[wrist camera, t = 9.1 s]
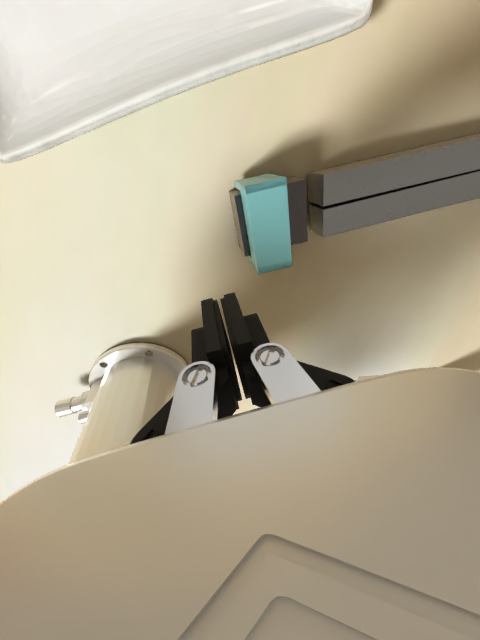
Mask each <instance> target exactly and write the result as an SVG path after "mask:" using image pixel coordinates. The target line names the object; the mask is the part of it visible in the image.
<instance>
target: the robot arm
mask: <svg viewBox="0 0 480 640" xmlns="http://www.w3.org/2000/svg"><path fill="white" fill-rule="evenodd" d="M220 300H221V304H222V308H223V313H224V317H225V321H226V325H227V330H228V334H229V338H230V342H231V346H232V350H233V354H234V357H235V361H236V365H237V368H238V372H239V376H240V379H241V383H242V386H243V390H244V394H245V397H246V399H247V398H250V397H251V400H252V404H253V405H256V406H259V407H261V408H257V409H253V410H250V411H246V412H243V413H239V414H236V415H233V413H234V412H235V411H236V409H239V406H238V401H240V400H242V397H241V393H240V388H239V384H238V380H237V375H236V371H235V366H234V362H233V358H232V353H231V349H230V345H229V341H228V338H227V334H226V330H225V327H224V323H223V320H222V316H221V313H220V309H219V305H218V302H217V300H215V301H213V300H212V298H211V299H207V300H203V301H201V306H202V317H203V327H202V328H198V329H194V330H192V332H191V335H192V364H190V365H187V363H186V362H185V360H184V359H183V358H182V357H181V356H180V355H178V354H177V353H175V352H174V351H172V350H170V349H167V348H165V347H163V346H159V345H155V344H149V343H130V344H124V345H120V346H117V347H114V348H112V349H110V350H108V351H106V352H105V353H103V354H102V355H101V356H100V357H99V358H98V359H97V360H96V362H95V363H94V364H93V367H92V369H91V371H90V374H89V387H90V391H86V392H84V393H83V394H82V395H81V396H79V397H72V398H68V399H64V400H60V401H58V402H57V403H56V405H55V413H56V414H57V416H59V417H62V416H66V415H70V414H74V413H77V412H78V411H82V410H83V411H85V412H82V413H80V414H79V417H78V419H79V422H80V423H81V424H82V423H84V426H83V428H82V431H81V433H80V436H79V438H78V441H77V443H76V446H75V448H74V451H73V453H72V456H71V458H70V461H69V463H68V465H66V466H63V467H61V468H58V469H56V470H54V471H52V472H50V473H48V474H46V475H44V476H42V477H40V478H38V479H36V480H34V481H32V482H31V483H29V484H27V485H26V486H24V487H23V488H21V489H19V490H18V491H16V492H15V493H13V494H12V495H10V496H9V497H8V498H6V499H5V500H4V501H2V502H1V503H0V640H480V372H479V371H474V370H468V369H461V368H443V367H432V368H418V369H411V370H404V371H398V372H394V373H390V374H385V375H377V376H364V377H359V379H358V380H353V379H351V378H349V377H347V376H344V375H341V374H338V373H335V372H331V371H328V370H325V369H322V368H318V367H315V366H312V365H309V364H305V363H302V362H299V361H296V359H295V358H294V357H293V356H292V355H291V353H290V352H289V351H288V350H287V348H285V347H284V346H283V345H281V344H278V343H270V341H269V339H268V337H267V335H266V333H265V331H264V328H263V326H262V324H261V322H260V320H259V317H258V315H257V314H256V313H255V314H251V315H248V316H244V317H243V315H242V312H241V309H240V306H239V304H238V301H237V298H236V295H235V293H230V294H226V295H224V298H223V299H220Z"/></svg>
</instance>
